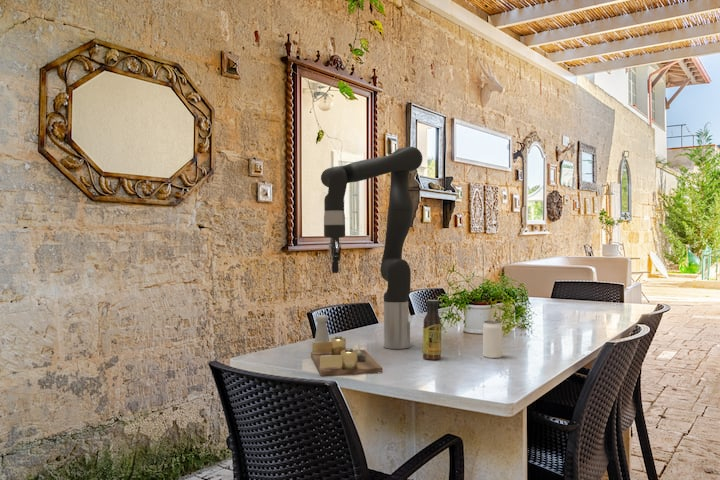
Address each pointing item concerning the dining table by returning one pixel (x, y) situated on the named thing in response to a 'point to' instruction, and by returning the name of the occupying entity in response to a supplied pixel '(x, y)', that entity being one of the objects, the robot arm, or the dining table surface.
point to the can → (492, 339)
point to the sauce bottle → (432, 332)
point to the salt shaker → (321, 329)
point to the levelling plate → (363, 366)
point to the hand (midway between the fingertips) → (335, 272)
